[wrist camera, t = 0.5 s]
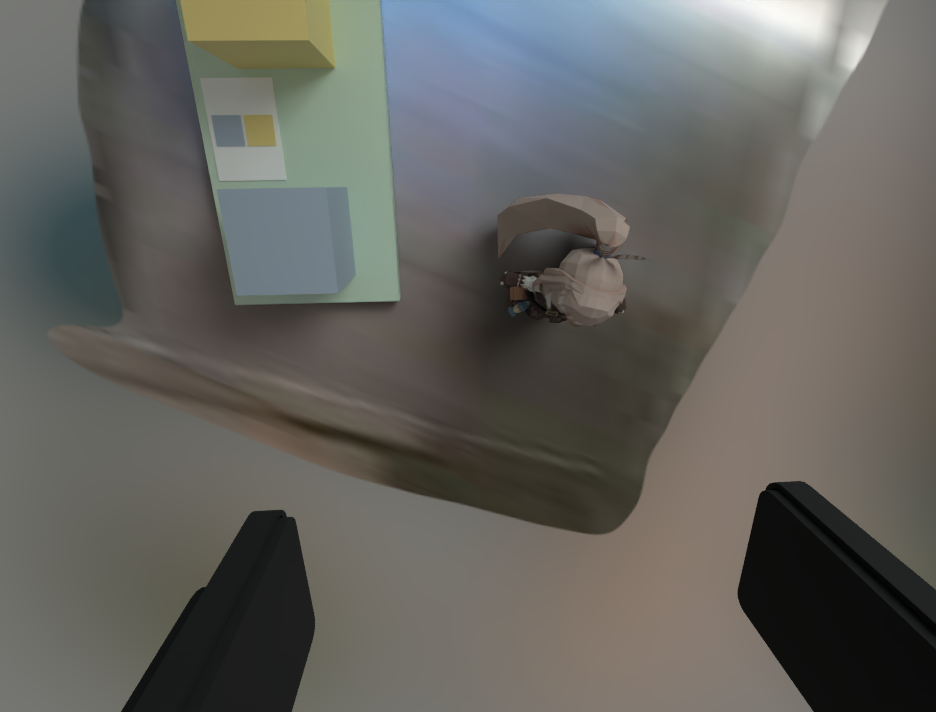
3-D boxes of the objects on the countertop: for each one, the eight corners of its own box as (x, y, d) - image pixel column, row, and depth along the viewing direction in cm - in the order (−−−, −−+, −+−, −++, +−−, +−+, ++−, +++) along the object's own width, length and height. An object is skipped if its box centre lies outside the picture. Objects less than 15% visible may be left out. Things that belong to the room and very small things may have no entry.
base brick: (257, 188, 31) (216, 189, 26) (347, 186, 31) (326, 187, 26) (272, 276, 33) (236, 295, 28) (356, 274, 34) (338, 293, 28)
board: (172, -63, 27) (159, -76, 26) (377, -63, 28) (373, -75, 27) (241, 301, 35) (234, 305, 34) (400, 297, 35) (399, 301, 34)
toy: (469, 314, 36) (509, 304, 21) (492, 205, 35) (550, 114, 20) (580, 339, 37) (693, 346, 22) (603, 233, 36) (735, 166, 21)
